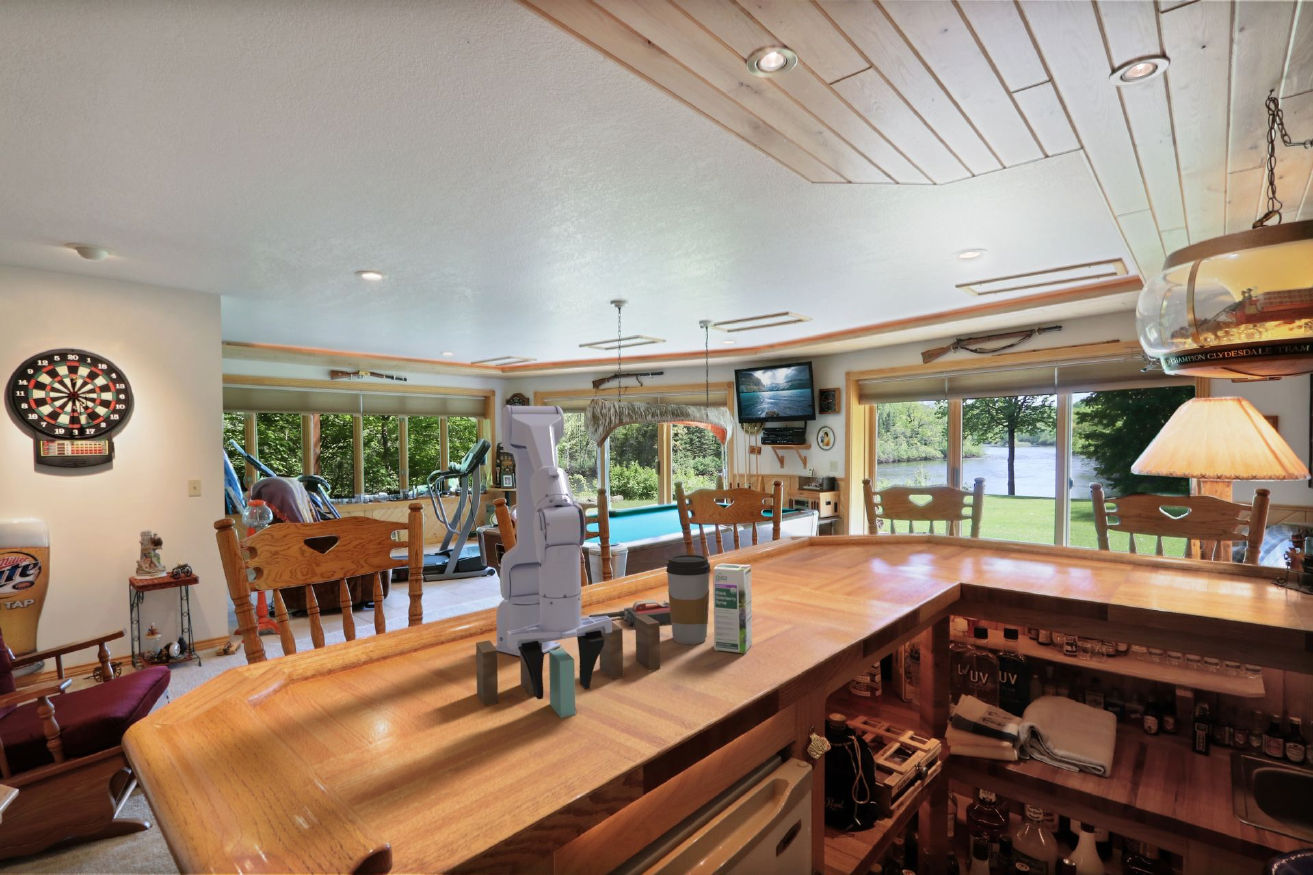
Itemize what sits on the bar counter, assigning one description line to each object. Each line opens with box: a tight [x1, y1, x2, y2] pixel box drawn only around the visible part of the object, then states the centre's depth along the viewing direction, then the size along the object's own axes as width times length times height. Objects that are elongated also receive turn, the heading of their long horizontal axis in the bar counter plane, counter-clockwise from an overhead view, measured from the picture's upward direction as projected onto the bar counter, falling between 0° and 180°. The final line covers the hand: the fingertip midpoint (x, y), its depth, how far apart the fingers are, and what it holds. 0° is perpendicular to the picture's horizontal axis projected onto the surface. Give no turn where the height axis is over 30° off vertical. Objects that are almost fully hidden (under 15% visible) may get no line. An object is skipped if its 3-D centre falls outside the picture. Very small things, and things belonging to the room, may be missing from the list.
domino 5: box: [635, 615, 661, 672], centre depth 100 cm, size 2×5×8 cm, turn 27°
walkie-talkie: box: [588, 599, 672, 629], centre depth 125 cm, size 9×4×20 cm
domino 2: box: [519, 643, 542, 697], centre depth 91 cm, size 2×5×8 cm, turn 27°
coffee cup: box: [665, 554, 712, 645], centre depth 112 cm, size 8×8×15 cm
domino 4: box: [598, 621, 624, 680], centre depth 97 cm, size 2×5×8 cm, turn 27°
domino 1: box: [475, 639, 499, 707], centre depth 88 cm, size 2×5×8 cm, turn 27°
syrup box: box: [712, 563, 753, 655], centre depth 108 cm, size 6×6×14 cm
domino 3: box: [548, 648, 576, 719], centre depth 84 cm, size 2×5×8 cm, turn 27°
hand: (562, 691), depth 84 cm, fingers open, 6 cm apart
